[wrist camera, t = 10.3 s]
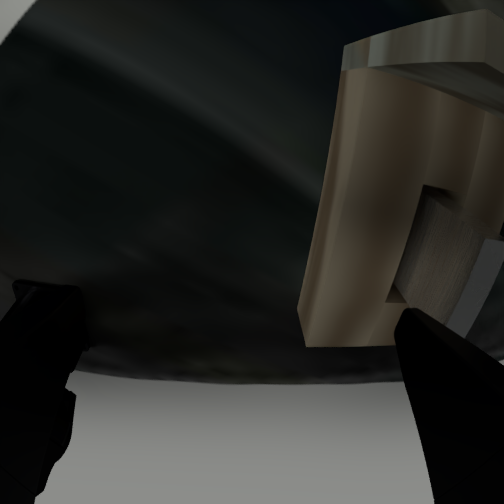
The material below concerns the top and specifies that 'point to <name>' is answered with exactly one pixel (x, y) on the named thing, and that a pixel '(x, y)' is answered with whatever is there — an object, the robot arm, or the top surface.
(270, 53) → the top surface
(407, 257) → the bracket plate
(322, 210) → the post base
